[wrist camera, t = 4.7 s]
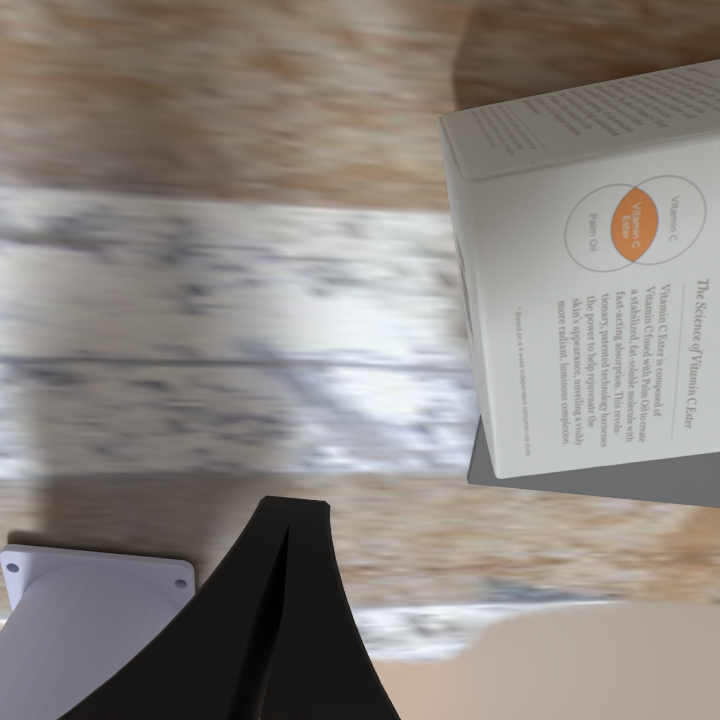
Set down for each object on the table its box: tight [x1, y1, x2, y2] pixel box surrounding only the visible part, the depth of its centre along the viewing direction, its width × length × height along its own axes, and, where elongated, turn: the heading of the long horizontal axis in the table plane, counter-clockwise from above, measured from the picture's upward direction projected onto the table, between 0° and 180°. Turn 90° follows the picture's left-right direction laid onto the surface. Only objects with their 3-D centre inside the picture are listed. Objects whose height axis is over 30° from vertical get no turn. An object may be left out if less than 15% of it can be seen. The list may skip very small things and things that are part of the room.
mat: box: [467, 414, 720, 508], centre depth 22 cm, size 11×11×1 cm
